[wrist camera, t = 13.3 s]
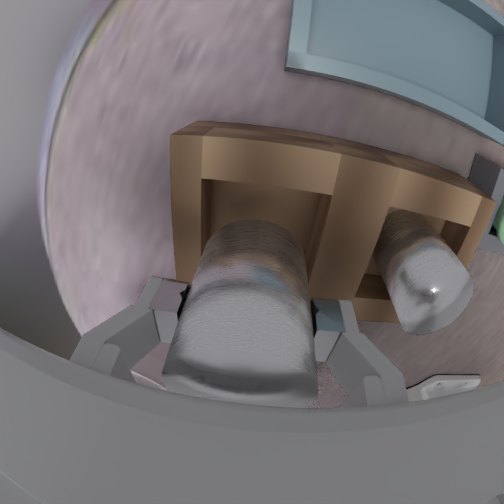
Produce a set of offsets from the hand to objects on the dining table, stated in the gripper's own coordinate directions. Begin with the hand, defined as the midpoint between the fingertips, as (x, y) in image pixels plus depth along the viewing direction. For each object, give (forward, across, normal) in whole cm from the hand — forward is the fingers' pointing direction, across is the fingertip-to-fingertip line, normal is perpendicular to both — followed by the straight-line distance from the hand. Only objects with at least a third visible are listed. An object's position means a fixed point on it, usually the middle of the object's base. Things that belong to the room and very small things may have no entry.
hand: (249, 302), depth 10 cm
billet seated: (+7, +9, 0) cm, 11 cm away
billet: (+2, 0, 0) cm, 2 cm away
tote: (+9, +8, +13) cm, 17 cm away
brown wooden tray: (+9, +5, 0) cm, 10 cm away
